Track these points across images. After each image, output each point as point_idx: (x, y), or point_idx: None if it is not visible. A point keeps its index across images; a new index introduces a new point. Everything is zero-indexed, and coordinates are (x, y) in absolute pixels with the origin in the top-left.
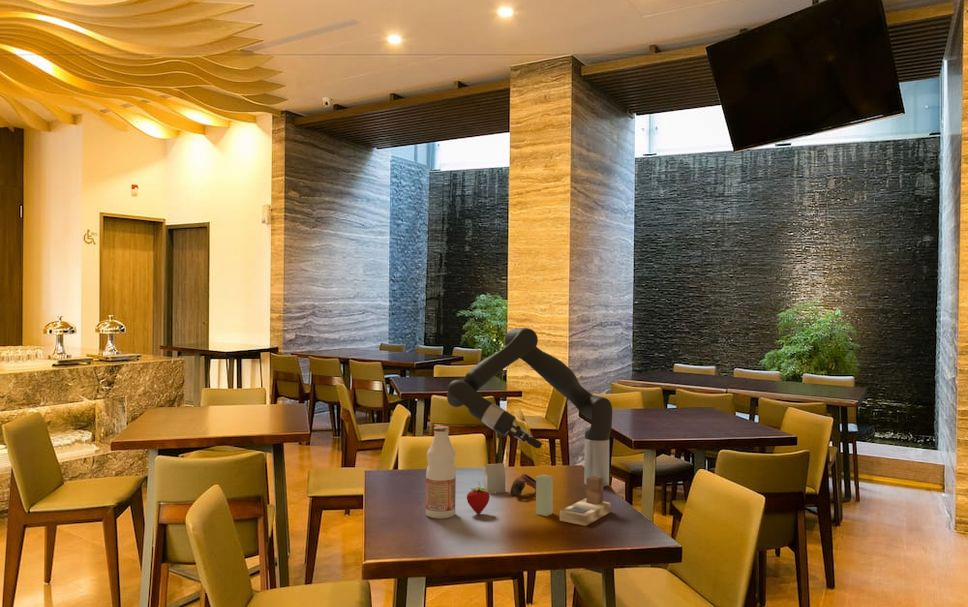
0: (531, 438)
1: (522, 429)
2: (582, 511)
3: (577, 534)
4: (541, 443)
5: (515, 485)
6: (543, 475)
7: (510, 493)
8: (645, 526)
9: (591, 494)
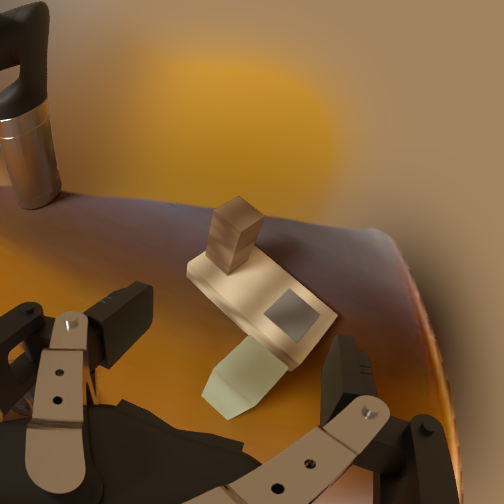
0: (357, 393)
1: (320, 490)
2: (310, 312)
3: (377, 354)
4: (150, 289)
5: None
6: (235, 369)
7: (22, 414)
8: (321, 230)
9: (242, 254)
